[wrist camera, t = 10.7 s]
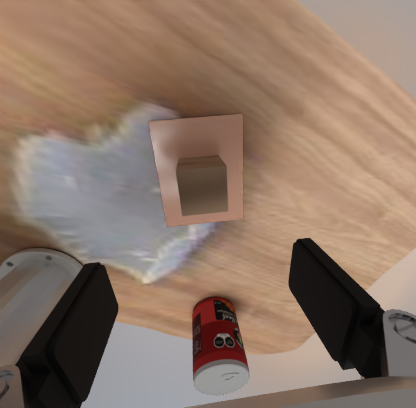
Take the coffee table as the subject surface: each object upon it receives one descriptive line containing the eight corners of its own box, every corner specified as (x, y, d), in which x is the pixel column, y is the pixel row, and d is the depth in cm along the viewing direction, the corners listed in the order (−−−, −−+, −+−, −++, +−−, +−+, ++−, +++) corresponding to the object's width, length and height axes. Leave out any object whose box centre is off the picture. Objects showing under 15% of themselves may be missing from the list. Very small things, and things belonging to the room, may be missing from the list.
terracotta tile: (241, 215, 30) (242, 218, 29) (167, 223, 29) (167, 226, 28) (240, 113, 24) (242, 113, 23) (149, 121, 24) (148, 121, 23)
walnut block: (220, 192, 27) (228, 211, 22) (183, 195, 27) (182, 216, 21) (218, 155, 25) (226, 165, 20) (178, 158, 25) (175, 170, 19)
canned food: (240, 313, 39) (258, 382, 28) (205, 330, 40) (210, 402, 30) (222, 289, 36) (235, 356, 26) (184, 307, 37) (182, 379, 27)
